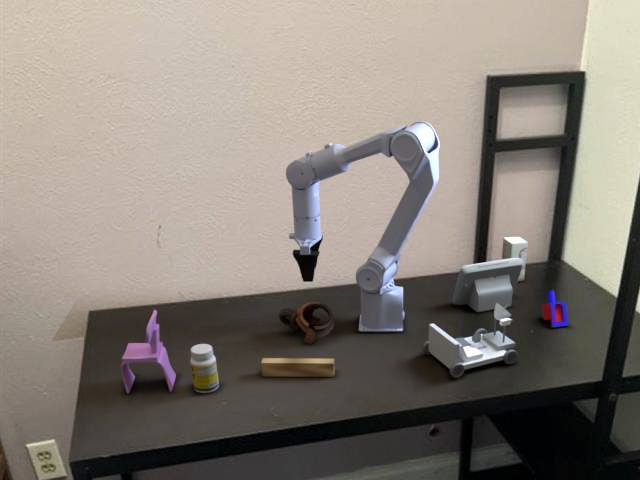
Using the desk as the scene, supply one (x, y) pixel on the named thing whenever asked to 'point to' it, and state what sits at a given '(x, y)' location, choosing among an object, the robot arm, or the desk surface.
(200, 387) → the supplement bottle
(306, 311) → the pottery mug
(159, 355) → the chair
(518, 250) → the white tall block
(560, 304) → the toy building block
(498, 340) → the toy cart
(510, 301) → the digital clock
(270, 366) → the bar
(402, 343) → the desk surface
